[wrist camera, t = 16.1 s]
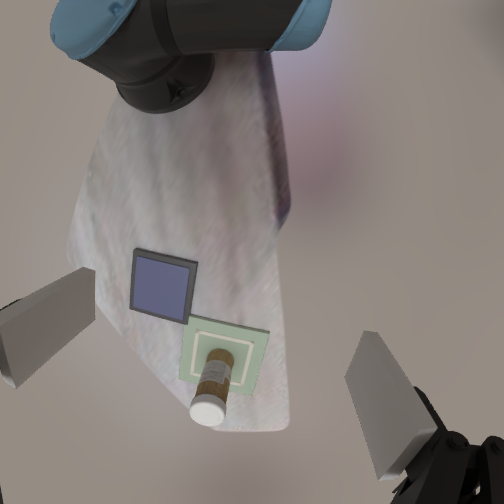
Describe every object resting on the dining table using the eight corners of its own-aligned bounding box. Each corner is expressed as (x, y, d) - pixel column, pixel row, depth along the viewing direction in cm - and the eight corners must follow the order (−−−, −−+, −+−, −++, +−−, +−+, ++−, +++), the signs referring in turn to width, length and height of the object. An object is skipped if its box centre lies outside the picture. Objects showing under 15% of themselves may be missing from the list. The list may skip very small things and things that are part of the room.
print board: (187, 313, 44) (185, 315, 43) (269, 331, 44) (269, 334, 43) (179, 376, 47) (178, 379, 46) (252, 393, 47) (251, 396, 46)
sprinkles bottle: (231, 373, 45) (221, 431, 32) (204, 366, 45) (186, 422, 32) (237, 351, 44) (228, 408, 31) (209, 344, 44) (191, 399, 31)
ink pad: (136, 248, 42) (132, 249, 41) (197, 262, 42) (195, 264, 41) (132, 306, 44) (128, 309, 43) (189, 322, 44) (187, 326, 43)
